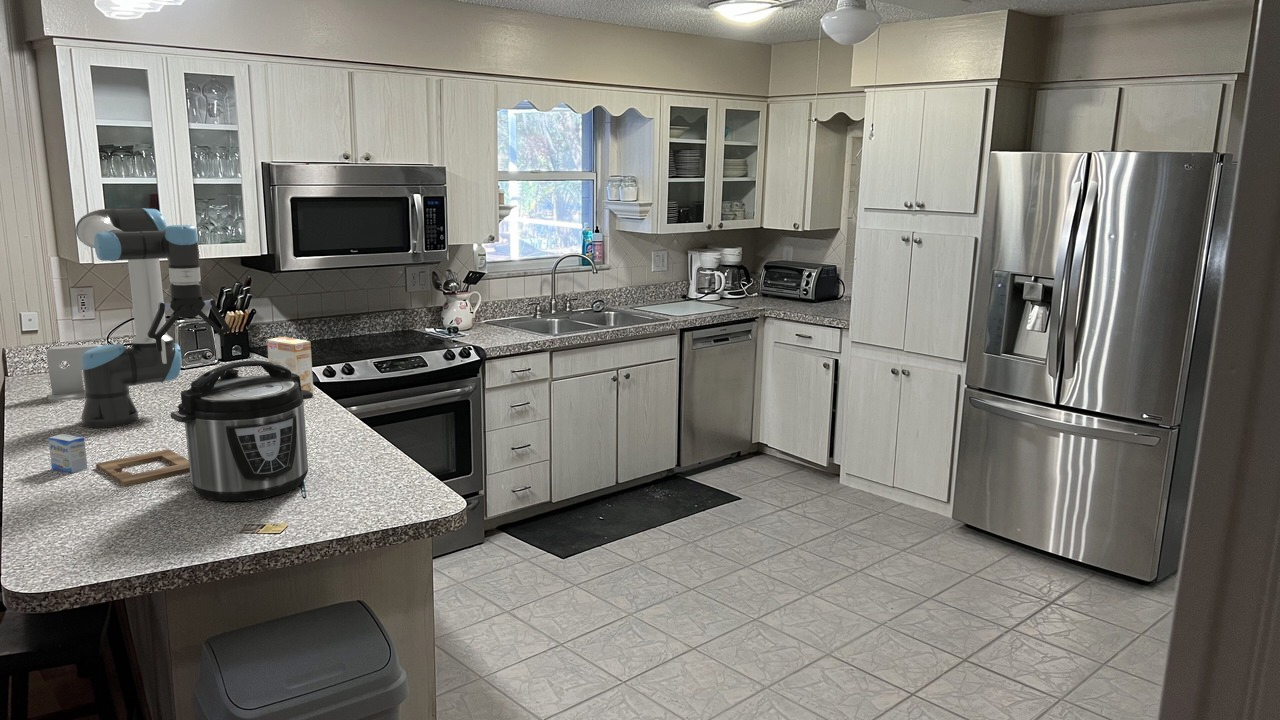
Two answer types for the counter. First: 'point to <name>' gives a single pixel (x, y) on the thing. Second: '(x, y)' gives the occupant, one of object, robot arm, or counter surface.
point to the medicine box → (67, 453)
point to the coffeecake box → (293, 358)
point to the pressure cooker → (245, 432)
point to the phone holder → (67, 371)
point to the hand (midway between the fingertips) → (192, 360)
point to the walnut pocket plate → (126, 478)
